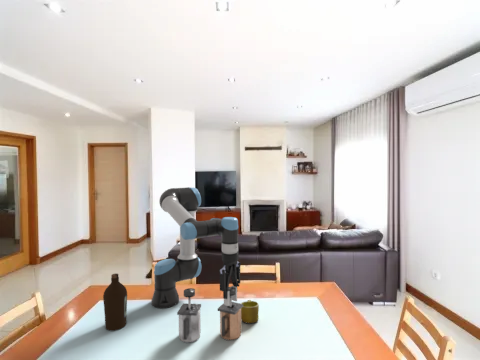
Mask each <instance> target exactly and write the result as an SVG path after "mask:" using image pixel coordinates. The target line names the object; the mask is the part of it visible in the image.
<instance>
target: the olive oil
mask: <svg viewBox="0 0 480 360" xmlns="http://www.w3.org/2000/svg"><path fill="white" fill-rule="evenodd" d="M110 280H111V281H110V284H109V285H108V286H107V287H106V288H105V290H104V292H103V296H102V297H103V298H102V300H103V311H104V312H103V313H104V325H105V326H104V327H105V329H106V330H107V331H119V330H121V329H123V328H125V326H127V318H128V317H127V312H128V311H127V310H128V309H127V306H128V291H127V290H128V289H127V288H126V286H125V285H124V284H123V283H121V282H120V277H119V273H112V274H111V277H110Z"/></svg>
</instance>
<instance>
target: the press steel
mask: <svg viewBox="0 0 480 360" xmlns="http://www.w3.org/2000/svg"><path fill="white" fill-rule="evenodd" d="M201 308H202V303H191V310H188V303H182V304H181V306H180V307H179V309H178V310H177V312H176V313H177V314H176V315H177V316H178V337H179V340H180V341H181V342H183V343H186V344H187V343H189V344H190V343H194V342H197V341H198V340H199V339H200V338H201V334H202V333H201V331H202V329H201V321H202V320H201Z"/></svg>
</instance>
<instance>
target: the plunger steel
mask: <svg viewBox="0 0 480 360" xmlns="http://www.w3.org/2000/svg"><path fill="white" fill-rule="evenodd" d="M195 295H196V289H195V288H193V287H192V288H191V287H190V288H186V289H184V290H183V297H184V298H187V299H188V303H187V304H188V310H191V304H192V303H191V298H193V297H195Z"/></svg>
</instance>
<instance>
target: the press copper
mask: <svg viewBox="0 0 480 360" xmlns="http://www.w3.org/2000/svg"><path fill="white" fill-rule="evenodd" d="M242 307H243V304H241V302H240V303H239V302H236V301H232V308H229V306H227V305H224V302H223V303H222V304H221V305H220V306H218V308H217V311H218V312H219V324H220V326H219V331H220V337H221V338H222V339H223V340H225V341H234V340H237V339H240V337H241V336H242V334H241V333H242V320H241V308H242Z"/></svg>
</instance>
